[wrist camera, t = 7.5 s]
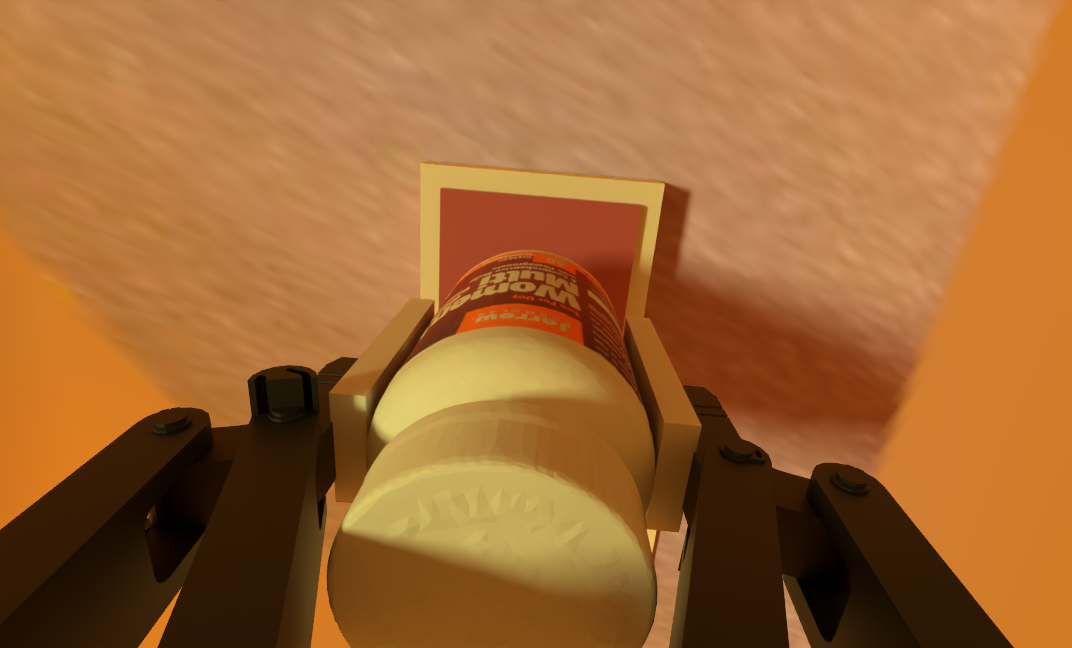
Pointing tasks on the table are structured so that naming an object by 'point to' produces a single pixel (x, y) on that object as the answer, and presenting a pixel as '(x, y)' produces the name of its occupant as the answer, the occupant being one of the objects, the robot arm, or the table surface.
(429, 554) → the pill bottle
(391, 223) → the table surface
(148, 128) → the table surface
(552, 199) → the pad
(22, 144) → the table surface
